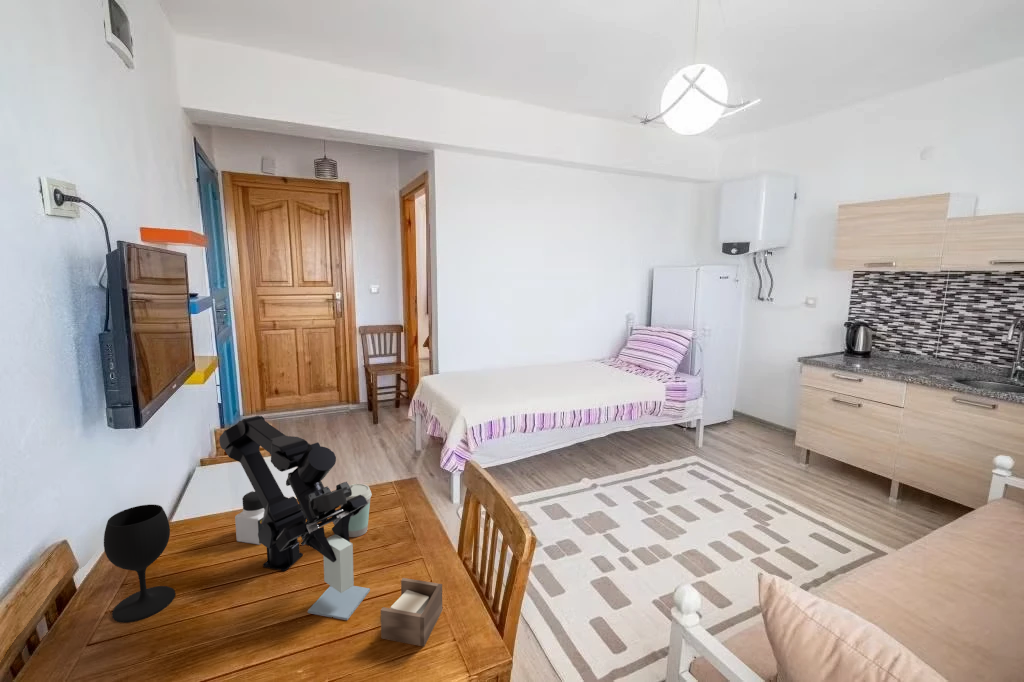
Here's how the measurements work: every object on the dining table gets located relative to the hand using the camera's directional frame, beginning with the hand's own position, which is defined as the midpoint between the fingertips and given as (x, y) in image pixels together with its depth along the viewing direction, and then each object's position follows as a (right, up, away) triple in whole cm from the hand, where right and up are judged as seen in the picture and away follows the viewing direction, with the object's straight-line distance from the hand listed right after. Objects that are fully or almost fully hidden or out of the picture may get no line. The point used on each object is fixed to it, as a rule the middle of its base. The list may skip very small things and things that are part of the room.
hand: (342, 557), depth 94 cm
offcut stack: (+15, -12, -3) cm, 19 cm away
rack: (+15, -12, -4) cm, 20 cm away
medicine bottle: (-32, -7, +26) cm, 42 cm away
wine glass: (-42, -10, 0) cm, 43 cm away
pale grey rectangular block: (-1, -6, +2) cm, 7 cm away
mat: (-1, -10, +2) cm, 11 cm away
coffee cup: (-7, -7, +29) cm, 31 cm away
